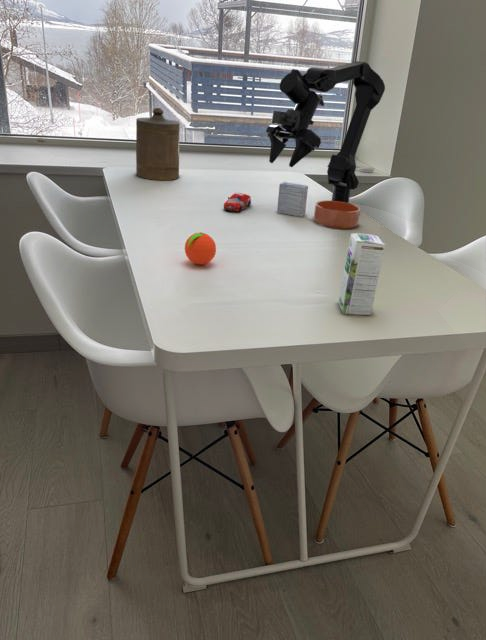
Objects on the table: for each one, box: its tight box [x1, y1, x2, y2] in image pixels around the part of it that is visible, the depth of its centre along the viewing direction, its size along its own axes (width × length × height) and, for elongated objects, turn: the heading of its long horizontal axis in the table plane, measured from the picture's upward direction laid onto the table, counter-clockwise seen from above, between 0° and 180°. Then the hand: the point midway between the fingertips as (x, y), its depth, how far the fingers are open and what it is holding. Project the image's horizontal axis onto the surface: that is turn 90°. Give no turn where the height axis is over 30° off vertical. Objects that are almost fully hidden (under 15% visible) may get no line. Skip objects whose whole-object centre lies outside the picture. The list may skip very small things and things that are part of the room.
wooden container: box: [135, 107, 181, 181], centre depth 201 cm, size 15×15×22 cm
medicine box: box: [276, 181, 309, 218], centre depth 176 cm, size 8×4×9 cm, turn 71°
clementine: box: [184, 231, 217, 266], centre depth 128 cm, size 8×7×7 cm
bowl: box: [313, 200, 361, 230], centre depth 172 cm, size 13×13×5 cm
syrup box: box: [338, 233, 386, 316], centre depth 112 cm, size 6×6×14 cm
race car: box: [223, 192, 252, 213], centre depth 177 cm, size 13×5×4 cm, turn 160°
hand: (280, 164), depth 167 cm, fingers open, 9 cm apart
